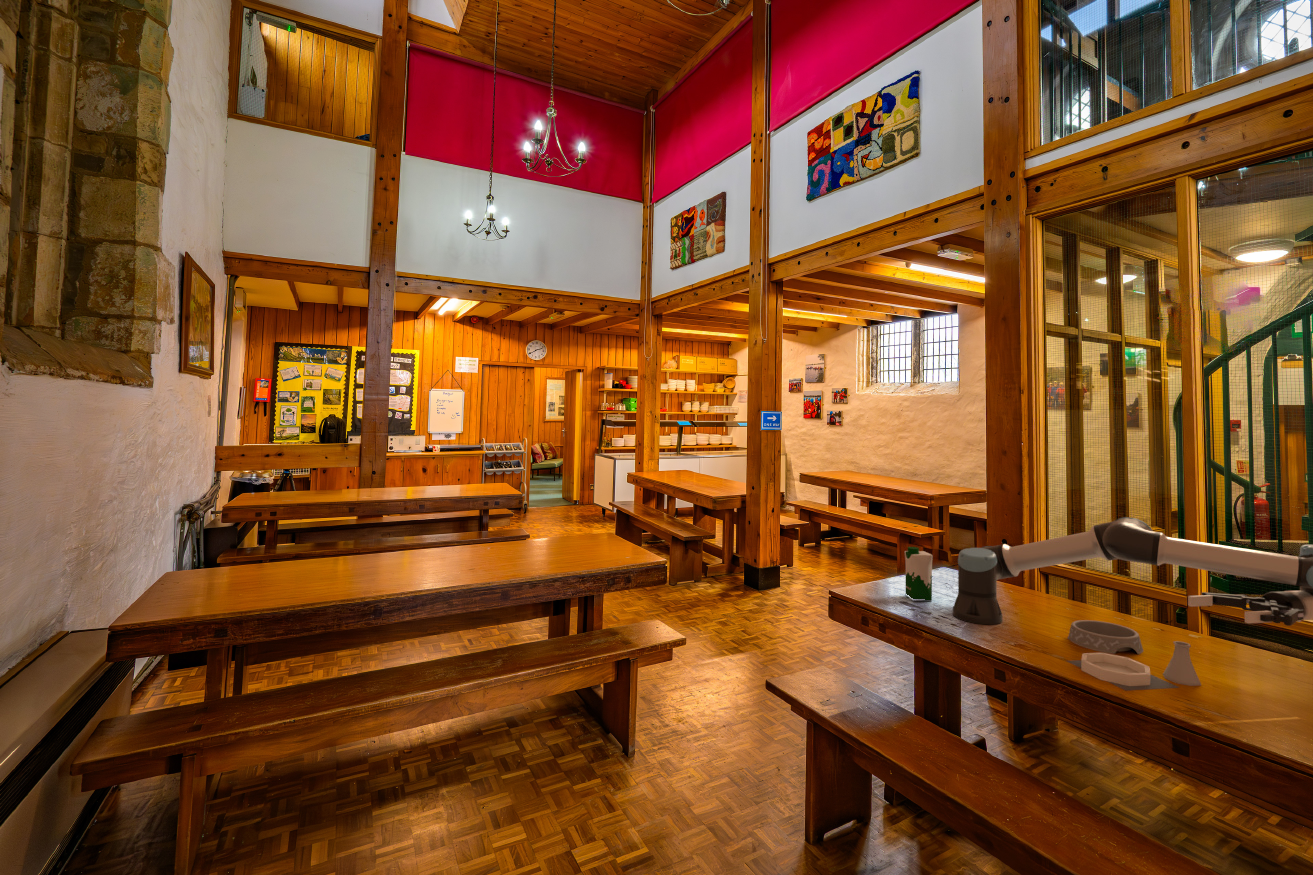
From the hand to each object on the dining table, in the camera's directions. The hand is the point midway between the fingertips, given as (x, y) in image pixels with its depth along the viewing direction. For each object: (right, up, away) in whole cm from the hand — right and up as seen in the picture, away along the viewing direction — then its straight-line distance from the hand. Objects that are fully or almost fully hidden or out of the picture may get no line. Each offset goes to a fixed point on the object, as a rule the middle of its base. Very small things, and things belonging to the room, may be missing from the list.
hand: (1216, 608), depth 146 cm
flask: (-10, -19, -1) cm, 21 cm away
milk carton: (-44, -18, +72) cm, 86 cm away
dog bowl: (-10, -19, +24) cm, 32 cm away
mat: (-23, -19, +3) cm, 30 cm away
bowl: (-24, -18, +3) cm, 30 cm away
